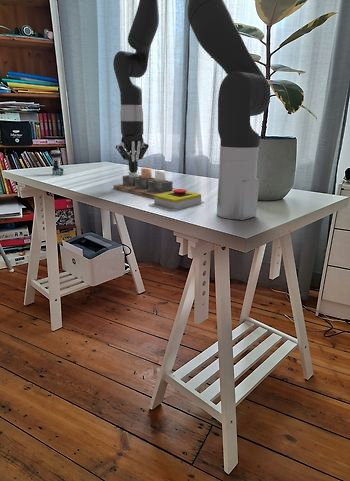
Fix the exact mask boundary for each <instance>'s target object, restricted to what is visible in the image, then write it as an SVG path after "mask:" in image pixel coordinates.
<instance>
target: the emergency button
mask: <svg viewBox="0 0 350 481" xmlns="http://www.w3.org/2000/svg"><path fill="white" fill-rule="evenodd" d="M153 200H154V202H153V203H150V204H148V206H149V207H153V208H155V207H156V208H155V209H159V210H163V211H166V210H167V211H168V212H172V211H176V210H177V209H178V210H180V209H181V208H182V209H186V208H189V207H194V206H197V205H202V204H205V201H203V200H202V194H201V193H198V192H194V191H193V192H192V191H188V190H186V189H183V188H175V190H173V191H172V192H167V193H162V194H156V195H155V199H153ZM185 207H186V208H185ZM182 209H181V210H182ZM167 211H166V212H167Z"/></svg>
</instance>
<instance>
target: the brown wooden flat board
mask: <svg viewBox="0 0 350 481" xmlns="http://www.w3.org/2000/svg"><path fill="white" fill-rule="evenodd" d="M173 184H174V183H173V181H172V180H167V179H166V182H162V183H158V182H155V177H152V179H149V180H143V179H141V174H139V177H129V174H127V175H122V183H120V184H119V183H118V184H113V189H114V190H119V191H122V192H126V193H131V194H134V195H138V196H142V197H146V198H150V199H153V200H155V195H156V194H162V193H167V192H172V191H173V190H175V189H176V188H175V187H173Z"/></svg>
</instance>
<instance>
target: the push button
mask: <svg viewBox="0 0 350 481" xmlns="http://www.w3.org/2000/svg"><path fill="white" fill-rule="evenodd" d="M48 154H49V157H50V158H51V159H52V165H53V166H52V168H51V171H52V175H53V176H55V175H56V176H63V175H64V168H62V166H61V158H62V157H63V152H61V151H60V150H51V151H50V152H49V153H48Z"/></svg>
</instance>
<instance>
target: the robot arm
mask: <svg viewBox="0 0 350 481" xmlns="http://www.w3.org/2000/svg"><path fill="white" fill-rule="evenodd" d="M159 8H160V6H159V0H139V2H138V5H137V9H136V12H135V16H134V18H133V22H132V24H131V27H130V30H129V33H128V35H127V43H128V45H129V46H130V47H131V48H132V49H133V50H135V52H129V51H125V50H120V51H117V52H116V54H115V55H114V58H113V62H112V64H113V70H114V75H115V77H116V80H117V85H118V88H119V95H120V98H119V99H120V113H119V116H120V133H121V139H120V140H121V141H120V143H119V144H116V145H115V149H116V150H117V152H118V153H119V155H120V156H121V158H122V159H123V160H125V161H127V162H128V172H132V173H135V172H138V168H139V165H138V162H139V161H140V160H143V159H144V156H145V154H146V152H147V151H148V148H149V147H150V146H149V144H148V143H146V142H145V141H144V138H143V137H144V136H143V135H144V109H143V91H142V88H141V86H138V85H136V84H135V83H133V82H132V80H131V78H133V79H134V78H137V79H138V78H142V77H143V76H144V75H145V74H146V72H147V70H148V66H149V65H148V64H149V57H150V50H151V46H152V43H153V41H154V38H155V36H156V33H157V31H158V28H159V24H160V9H159ZM187 19H188V23H189V25H190V28H191V30H192V31H193V33H194V36H195V38H196V40H197V42H198V43H199V45H200V46H201V48H202V49H203V50H204V51H205V53H206V54H207V55H209V56H210V57H211V59H212V60H214V61H215V63H217V64H218V65H219V67H221V68H222V70H223V71H224V72H225V74H226V75H225V77H224V78H223V80H222V81H221V83H220V86H219V90H218V96H217V132H218V135H219V140H220V144H219V145H220V146H219V163H218V164H219V165H218V183H217V200H216V201H217V203H216V204H217V205H216V215H217V216H218V217H220V218H224V219H229V220H239V221H245V220H248V219H251V218H254V217H256V216H257V212H258V211H257V209H258V202H259V201H258V200H259V199H258V198H259V188H260V179H259V178H257V174H258V173H257V171H258V159H259V151H260V150H259V149H260V134H259V133H258V132H256V131H255V130H254V129H253V128H252V125H251V117H255V116H260V115H262V114H263V113H264V112H265V111H266V110H267V108H268V107H269V106H270V105H269V104H270V102H271V96H272V95H271V88H270V84H269V81H268V80H267V78H266V77H265V75H264V73H263V72H262V71H261V69H260V68H259V66H258V64H257V63H256V62H255V60H254V58H253V57H252V55H251V53H250V52H249V50H248V49H247V46H246V44H245V42H244V40H243V38H242V36H241V34H240V32H239V30H238V28H237V26H236V24H235V22H234V20H233V18H232V14H231V13H230V11H229V8H228V7H227V4H226V3H225V2H224V0H188V5H187Z"/></svg>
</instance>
